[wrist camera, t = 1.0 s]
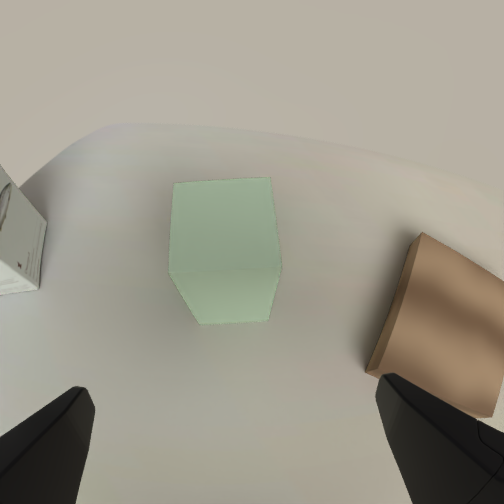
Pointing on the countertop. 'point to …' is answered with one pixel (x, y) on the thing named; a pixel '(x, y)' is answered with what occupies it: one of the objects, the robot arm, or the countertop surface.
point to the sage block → (225, 249)
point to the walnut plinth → (445, 329)
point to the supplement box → (19, 239)
